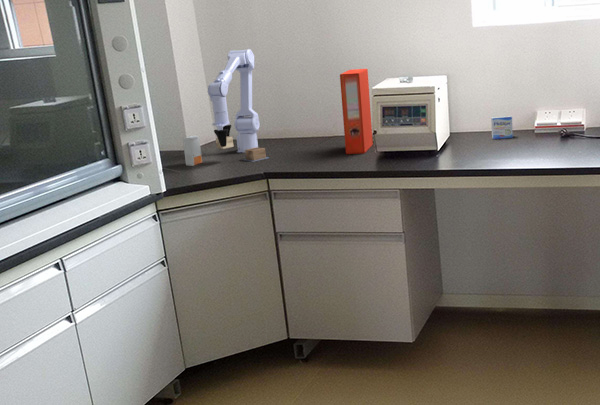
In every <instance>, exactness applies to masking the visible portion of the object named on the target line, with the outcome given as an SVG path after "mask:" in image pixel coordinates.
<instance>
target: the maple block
mask: <svg viewBox="0 0 600 405" xmlns="http://www.w3.org/2000/svg"><path fill="white" fill-rule="evenodd" d="M215 143H216V148H217V149H223V150H224V149H230V148H233V147H234V146H235V145H234V139H233V136H230V135H229V136H227V143H226V146H225V147H221V146H220V143H219V140H218V137H215Z"/></svg>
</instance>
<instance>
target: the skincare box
mask: <svg viewBox="0 0 600 405" xmlns="http://www.w3.org/2000/svg"><path fill="white" fill-rule="evenodd" d="M200 141H201V140H200V136H199V135H190V136H186V137H183V138H182V144H183V152H184V159H185V160H184V161H185V165H186V166H189V167H190V166H192V167H194V166H196V165H198V164H201V163H203V158H202V148H201V142H200Z"/></svg>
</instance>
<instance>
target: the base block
mask: <svg viewBox="0 0 600 405" xmlns="http://www.w3.org/2000/svg"><path fill="white" fill-rule="evenodd" d="M266 157H267V154H266V147H260V146H258V147H256V148H251V149H247V150H245V159H246V160H245V161H247V160H252V161H251V162H253V161H254V162H256V161H255V160H258V161H261V160H260V159H262V160H265V159H264V158H266Z"/></svg>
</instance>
